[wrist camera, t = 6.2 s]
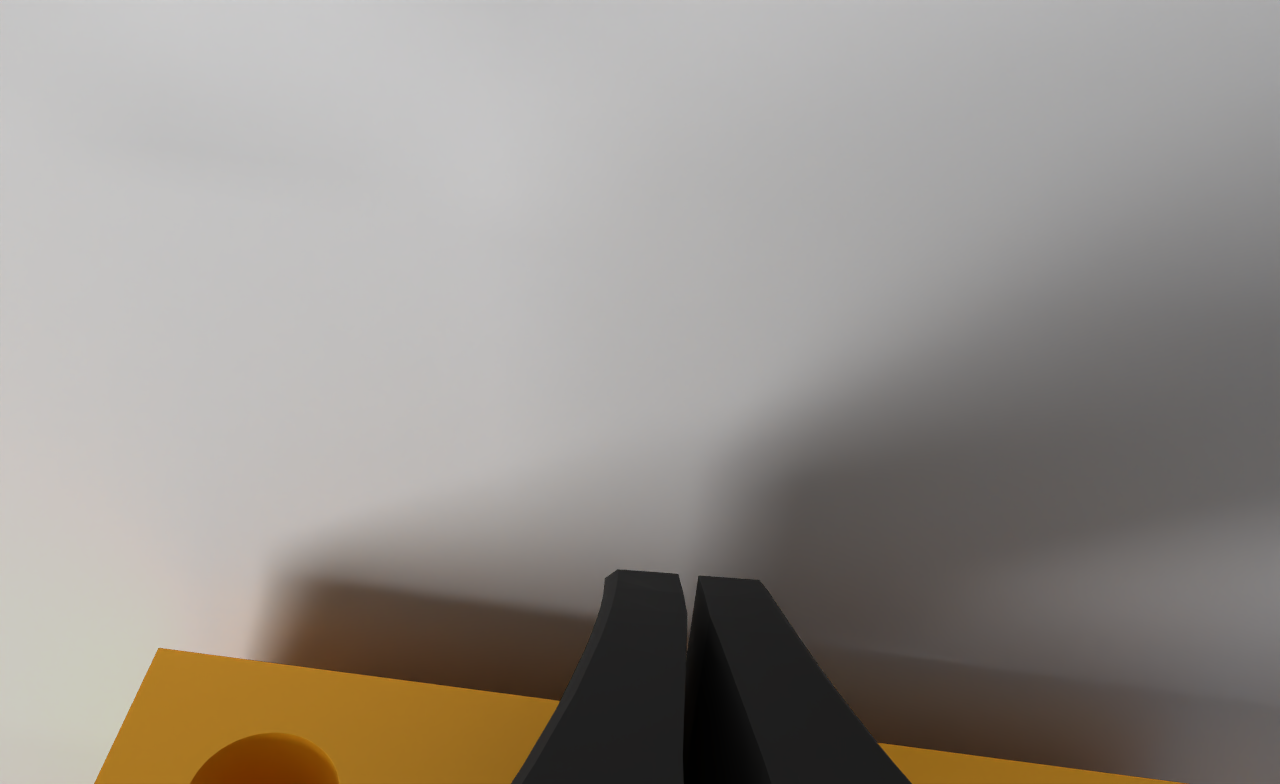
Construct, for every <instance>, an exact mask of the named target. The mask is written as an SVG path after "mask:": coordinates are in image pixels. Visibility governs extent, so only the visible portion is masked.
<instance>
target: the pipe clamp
mask: <svg viewBox="0 0 1280 784" xmlns="http://www.w3.org/2000/svg"><path fill="white" fill-rule="evenodd" d="M559 702H560V701H558V700H550V699H542V698H535V697H527V696H520V695H512V694H505V693H497V692H489V691H482V690H474V689H467V688H459V687H451V686H444V685H436V684H429V683H421V682H414V681H406V680H398V679H391V678H383V677H376V676H368V675H360V674H353V673H345V672H338V671H330V670H323V669H315V668H307V667H300V666H292V665H285V664H277V663H269V662H262V661H254V660H247V659H239V658H232V657H224V656H216V655H209V654H201V653H194V652H186V651H178V650H171V649H163V648H158V650H157V652H156V654H155V657H154V659H153V661H152V663H151V665H150V667H149V669H148V671H147V673H146V676H145V678H144V680H143V682H142V684H141V686H140V688H139V690H138V692H137V695H136V697H135V699H134V701H133V703H132V705H131V707H130V709H129V711H128V714H127V716H126V718H125V720H124V722H123V724H122V726H121V728H120V730H119V733H118V735H117V737H116V739H115V741H114V743H113V745H112V747H111V749H110V752H109V754H108V756H107V758H106V760H105V762H104V764H103V766H102V768H101V770H100V773H99V775H98V777H97V779H96V781H95V783H94V784H511V783H512V781H513V779H514V778H515V776H516V775H517V773H518V772H519V770H520V769H521V767H522V766H523V764H524V762H525V761H526V759H527V757H528V756H529V754H530V752H531V750H532V749H533V747H534V745H535V744H536V742H537V740H538V739H539V737H540V735H541V734H542V732H543V730H544V729H545V727H546V725H547V723H548V722H549V720H550V718H551V717H552V715H553V713H554V712H555V710H556V708H557V706H558V704H559ZM878 744H879V745H880V746H881V748H882V749H883V750H884V751H885V752H886V754H887V755H888V756H889V757H890V759H891V760H892V761H893V762H894V763H895V765H896V766H897V767H898V768H899V769H900V770H901V771H902V773H903V774H904V775H905V776H906V777H907V778H908V780H909V781H910V782H911V783H912V784H1187V783H1179V782H1172V781H1164V780H1157V779H1149V778H1142V777H1134V776H1126V775H1119V774H1111V773H1104V772H1096V771H1088V770H1081V769H1073V768H1066V767H1058V766H1051V765H1043V764H1035V763H1028V762H1020V761H1013V760H1005V759H997V758H990V757H982V756H975V755H967V754H960V753H952V752H944V751H937V750H929V749H922V748H914V747H906V746H899V745H891V744H884V743H878Z"/></svg>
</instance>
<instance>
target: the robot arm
mask: <svg viewBox="0 0 1280 784" xmlns="http://www.w3.org/2000/svg"><path fill="white" fill-rule="evenodd" d="M686 640H687V610H686V605H685V600H684V595H683V591H682V587H681V583H680V579H679V575H678V574H671V573H658V572H645V571H632V570H619V569H618V570H616V571H615V572H613V573H612V574H610V575H609V576H608V577H606V578H605V585H604V594H603V599H602V603H601V607H600V611H599V614H598V617H597V620H596V623H595V626H594V628H593V631H592V633H591V636H590V638H589V641H588V643H587V646H586V649H585V651H584V653H583V655H582V657H581V659H580V661H579V664H578V666H577V668H576V670H575V672H574V674H573V676H572V678H571V680H570V682H569V684H568V686H567V688H566V690H565V692H564V695H563V697H562V699H561V700H560V702H559V704H558V706H557V708H556V710H555V712H554V713H553V715H552V717H551V718H550V720H549V722H548V723H547V725H546V727H545V729H544V730H543V732H542V734H541V735H540V737H539V739H538V740H537V742H536V744H535V745H534V747H533V749H532V750H531V752H530V754H529V756H528V757H527V759H526V761H525V762H524V764H523V766H522V767H521V769H520V770H519V772H518V773H517V775H516V776H515V778H514V779H513V781H512V783H511V784H912V783H911V782H910V781H909V780H908V778H907V777H906V776H905V775H904V774H903V773H902V771H901V770H900V769H899V768H898V767H897V766H896V765H895V763H894V762H893V761H892V760H891V759H890V757H889V756H888V755H887V754H886V752H885V751H884V750H883V749H882V748H881V746H880V745H879V744H878V743H877V741H876V740H875V739H874V738H873V737H872V735H871V734H870V733H869V732H868V730H867V729H866V728H865V726H864V725H863V724H862V722H861V721H860V720H859V719H858V717H857V716H856V715H855V713H854V712H853V711H852V709H851V708H850V707H849V706H848V704H847V703H846V702H845V700H844V699H843V698H842V696H841V695H840V694H839V693H838V691H837V690H836V689H835V687H834V686H833V685H832V683H831V682H830V680H829V679H828V678H827V676H826V675H825V674H824V672H823V671H822V669H821V668H820V667H819V665H818V664H817V662H816V661H815V660H814V658H813V657H812V655H811V654H810V652H809V651H808V650H807V648H806V647H805V645H804V644H803V642H802V641H801V640H800V638H799V637H798V635H797V634H796V632H795V631H794V629H793V628H792V626H791V625H790V623H789V622H788V620H787V619H786V617H785V616H784V614H783V613H782V611H781V610H780V608H779V607H778V605H777V604H776V602H775V601H774V599H773V598H772V596H771V595H770V593H769V592H768V590H767V589H766V588H765V587H764V585H763V584H762V583H761V582H760V581H759V580H750V579H737V578H724V577H711V576H698V583H697V590H696V597H695V603H694V610H693V617H692V624H691V631H690V638H689V644H688V651H687V658H686Z"/></svg>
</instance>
